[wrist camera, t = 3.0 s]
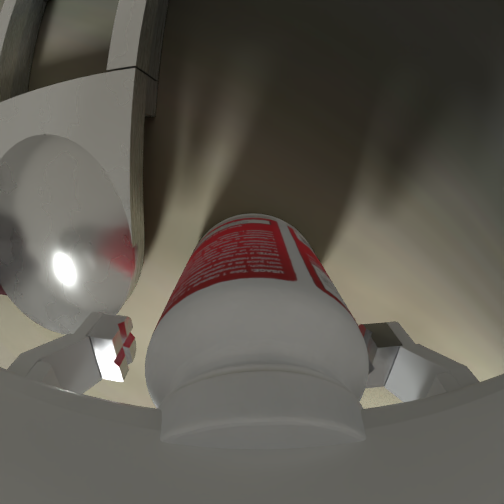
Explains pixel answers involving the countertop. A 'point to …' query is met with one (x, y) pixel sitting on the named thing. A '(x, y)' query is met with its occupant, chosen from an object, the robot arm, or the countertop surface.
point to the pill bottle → (257, 345)
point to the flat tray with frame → (75, 169)
